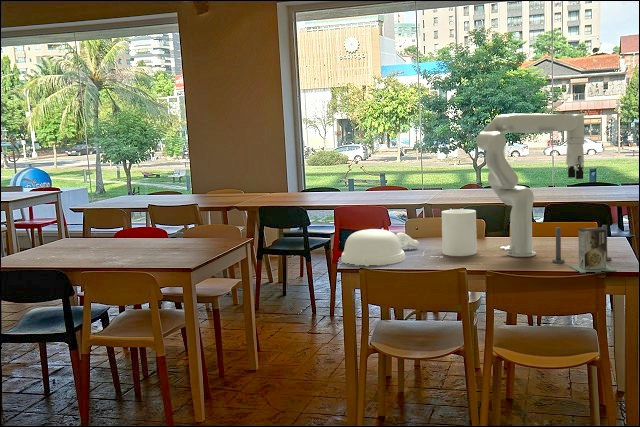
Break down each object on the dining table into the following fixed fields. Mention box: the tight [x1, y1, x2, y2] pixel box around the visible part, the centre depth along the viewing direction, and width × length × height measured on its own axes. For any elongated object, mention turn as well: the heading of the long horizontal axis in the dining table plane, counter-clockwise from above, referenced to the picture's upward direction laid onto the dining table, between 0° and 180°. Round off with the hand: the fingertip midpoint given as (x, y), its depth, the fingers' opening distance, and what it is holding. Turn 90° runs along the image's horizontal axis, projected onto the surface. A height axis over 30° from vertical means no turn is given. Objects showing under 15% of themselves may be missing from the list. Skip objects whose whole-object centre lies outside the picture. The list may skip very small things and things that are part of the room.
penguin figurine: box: [395, 232, 420, 250], centre depth 341 cm, size 6×8×12 cm
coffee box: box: [577, 226, 607, 270], centre depth 276 cm, size 9×6×16 cm
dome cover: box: [340, 228, 406, 267], centre depth 320 cm, size 32×30×14 cm
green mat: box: [569, 265, 617, 274], centre depth 277 cm, size 14×12×1 cm
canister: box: [441, 208, 478, 257], centre depth 325 cm, size 16×16×20 cm
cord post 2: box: [601, 224, 612, 262], centre depth 293 cm, size 5×5×15 cm
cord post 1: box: [551, 226, 566, 264], centre depth 293 cm, size 5×5×15 cm
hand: (575, 178), depth 318 cm, fingers open, 9 cm apart
